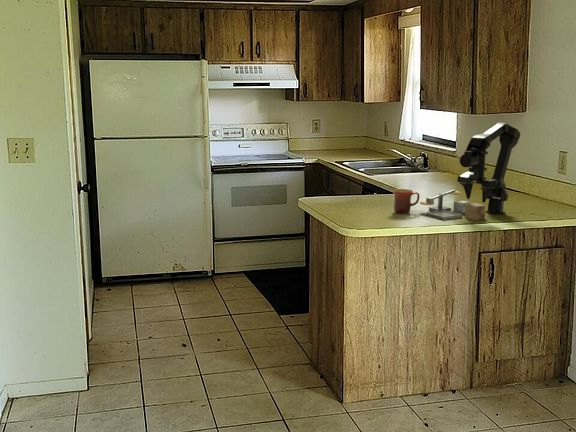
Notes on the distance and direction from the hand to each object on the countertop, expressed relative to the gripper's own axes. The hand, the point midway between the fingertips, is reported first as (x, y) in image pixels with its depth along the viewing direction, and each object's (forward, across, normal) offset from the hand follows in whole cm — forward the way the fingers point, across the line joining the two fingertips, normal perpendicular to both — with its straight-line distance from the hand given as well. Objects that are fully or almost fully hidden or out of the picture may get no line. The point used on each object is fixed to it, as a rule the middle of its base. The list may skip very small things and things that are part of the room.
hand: (475, 200), depth 308 cm
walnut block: (+8, 0, 0) cm, 8 cm away
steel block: (+8, -12, +4) cm, 15 cm away
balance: (+8, -19, -3) cm, 21 cm away
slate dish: (+8, -8, -10) cm, 15 cm away
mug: (+8, -23, -20) cm, 32 cm away
